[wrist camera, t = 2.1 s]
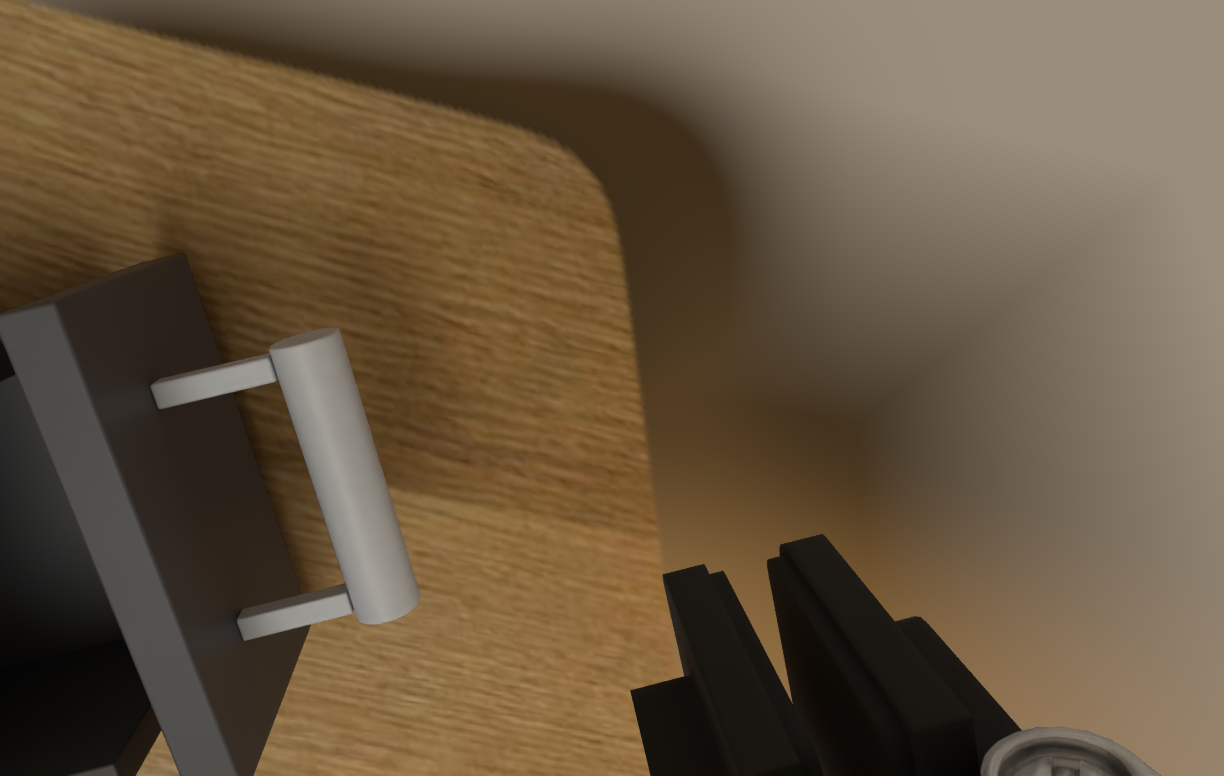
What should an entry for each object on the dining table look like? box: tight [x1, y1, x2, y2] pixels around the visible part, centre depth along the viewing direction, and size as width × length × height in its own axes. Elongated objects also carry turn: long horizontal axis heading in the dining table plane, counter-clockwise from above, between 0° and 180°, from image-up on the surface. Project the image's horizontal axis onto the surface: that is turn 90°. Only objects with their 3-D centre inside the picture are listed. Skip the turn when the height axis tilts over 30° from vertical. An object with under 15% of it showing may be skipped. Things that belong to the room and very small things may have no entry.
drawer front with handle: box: [0, 253, 421, 776], centre depth 23 cm, size 18×11×8 cm, turn 102°
